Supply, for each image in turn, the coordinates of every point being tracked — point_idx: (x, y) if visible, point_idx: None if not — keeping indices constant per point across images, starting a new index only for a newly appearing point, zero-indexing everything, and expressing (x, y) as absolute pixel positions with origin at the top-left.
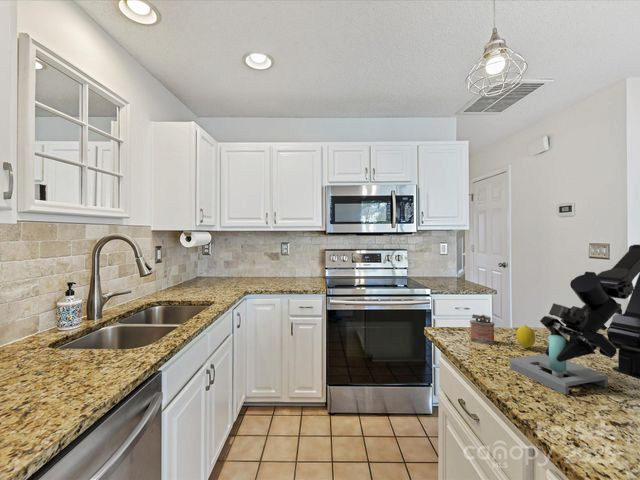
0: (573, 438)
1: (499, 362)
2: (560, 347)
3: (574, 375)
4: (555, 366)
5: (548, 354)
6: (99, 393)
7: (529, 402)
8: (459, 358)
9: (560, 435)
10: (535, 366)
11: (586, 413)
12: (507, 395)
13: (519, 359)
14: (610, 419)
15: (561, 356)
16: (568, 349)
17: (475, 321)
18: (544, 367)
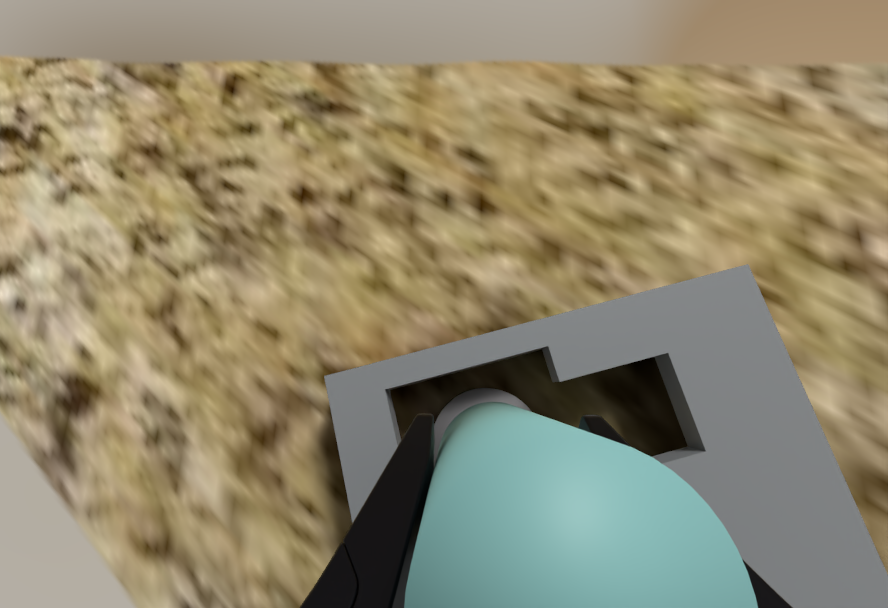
0: (37, 149)
1: (805, 276)
2: (425, 503)
3: None
4: (458, 416)
5: None
6: None
7: (295, 153)
8: (840, 70)
9: (63, 118)
10: (595, 357)
11: (171, 337)
12: (366, 97)
13: (737, 325)
14: (107, 406)
15: (395, 454)
16: (329, 563)
17: None
18: None
